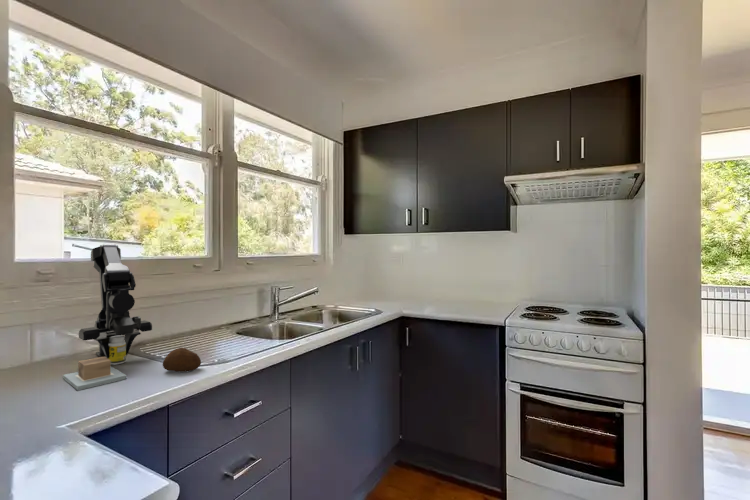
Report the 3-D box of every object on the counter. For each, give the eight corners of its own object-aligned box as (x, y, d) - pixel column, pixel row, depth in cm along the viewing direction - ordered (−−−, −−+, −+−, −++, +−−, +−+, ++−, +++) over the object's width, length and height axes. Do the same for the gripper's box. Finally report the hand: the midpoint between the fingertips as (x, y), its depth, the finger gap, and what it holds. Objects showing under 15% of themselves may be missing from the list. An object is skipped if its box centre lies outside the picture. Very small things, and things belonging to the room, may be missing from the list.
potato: (198, 373, 109) (198, 350, 109) (158, 376, 106) (159, 352, 106) (202, 366, 116) (202, 344, 116) (165, 369, 113) (165, 346, 113)
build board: (63, 378, 104) (63, 374, 104) (109, 368, 113) (109, 365, 113) (77, 390, 95) (77, 386, 95) (126, 378, 104) (126, 375, 104)
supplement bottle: (104, 363, 117) (104, 337, 117) (120, 359, 122) (120, 334, 122) (113, 365, 115) (113, 339, 115) (129, 361, 119) (129, 336, 119)
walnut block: (78, 375, 103) (78, 361, 103) (104, 370, 108) (104, 356, 108) (84, 380, 100) (84, 365, 100) (110, 374, 104) (110, 360, 104)
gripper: (89, 314, 106) (89, 368, 106) (159, 307, 121) (158, 354, 121) (78, 310, 113) (77, 361, 113) (145, 303, 128) (145, 348, 128)
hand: (117, 356), depth 118 cm, fingers closed on supplement bottle, 5 cm apart
